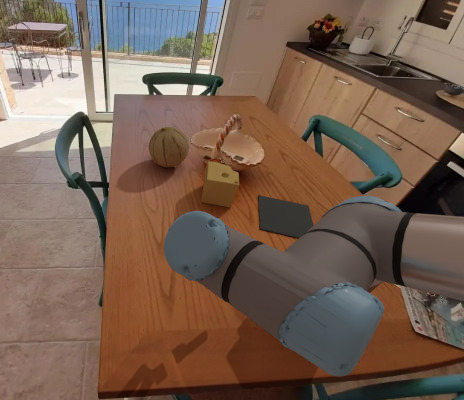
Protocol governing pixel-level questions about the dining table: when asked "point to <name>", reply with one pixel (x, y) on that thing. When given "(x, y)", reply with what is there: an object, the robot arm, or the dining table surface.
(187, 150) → the cantaloupe
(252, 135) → the dining table surface
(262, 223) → the mat
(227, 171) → the cheese
